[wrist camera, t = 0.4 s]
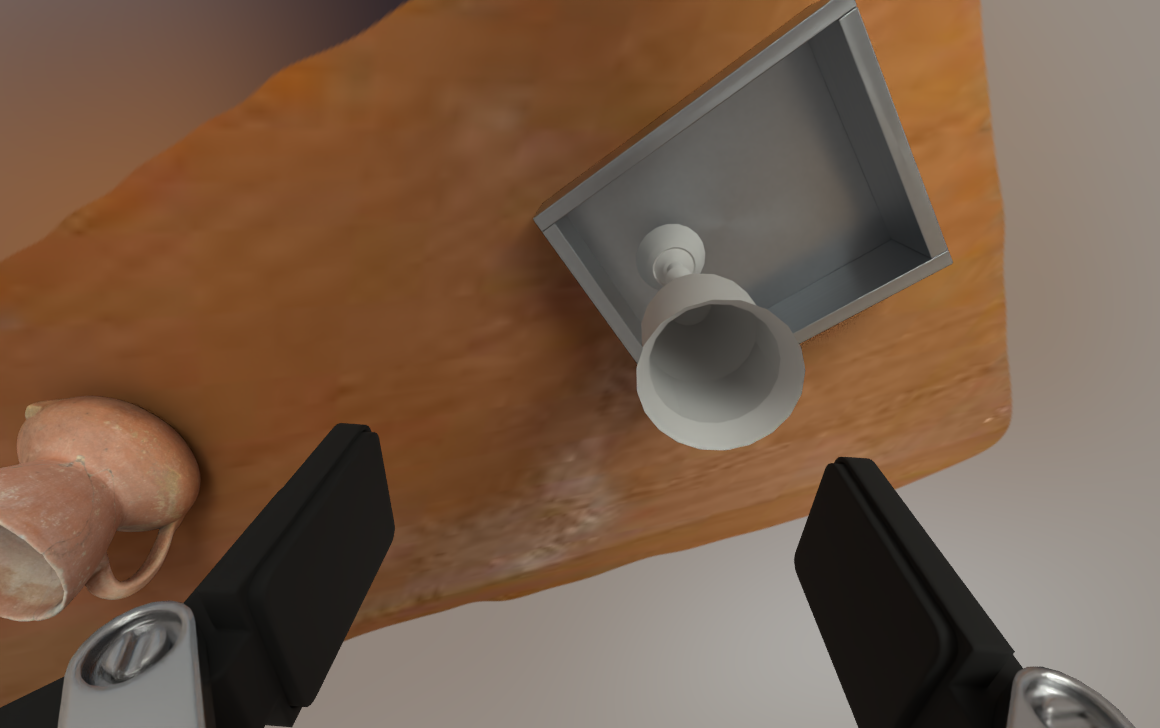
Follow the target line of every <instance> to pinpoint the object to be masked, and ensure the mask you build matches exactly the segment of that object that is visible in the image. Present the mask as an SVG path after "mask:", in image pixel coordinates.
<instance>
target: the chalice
mask: <svg viewBox="0 0 1160 728" xmlns="http://www.w3.org/2000/svg"><path fill="white" fill-rule="evenodd" d="M704 263H705V250H704V245H703V242H702V241H701V239H700V238H699V236H698V235H697V233H695V232H694V231H693V230H691V229H690V228H689V227H686V226H683V225H680V224H666V225H663V226H660V227H657V228H655V229H654V230H652V231H651V232H649V233H648V234H647V235H646V236H645V237H644V239H643V240H642V242H641V243H640V245H639V248H638V251H637V254H636V265H637V269H638V272H639V275H640V276H641V277H642V279H643V280H644V281H645V283H647V284H648V285H650V286H651V287H652V288H654V289H657V290H659V291H658V292H657V294H656V295H655V296H654V298H653V299H652V300H651V302H650V303H649V304H648V306H647V308H646V311H645V314H644V317H643V320H642V323H641V326H642V346H643V350H642V353H641V356H640V359H639V362H638V365H637V368H636V370H637V393H638V395H639V398H640V401H641V403H642V406H643V409H644V411H645V413H646V414H647V415H648V417H649V418H650V419H651V420H652V422H653V423H654V424H655V425H656V427H657V428H658V429H659V430H660V431H662V432H663V433H665V434H666V435H668V436H669V437H671V438H672V439H674V440H675V441H677V442H679V443H682V444H685V445H688V446H692V447H695V448H698V449H705V450H729V449H733V448H737V447H742V446H746V445H750V444H752V443H754V442H756V441H758V440H759V439H761V438H763V437H765V436H767V435H769V434H771V433H772V432H773V431H774V430H775V429H776V428H777V427H778V426H780V425H781V424H782V423H783V422H784V421H785V420H786V419H787V418H788V417H789V416H790V414H791V413H792V411H793V409H794V407H795V405H796V403H797V401H798V399H799V398H800V396H801V394H802V388H803V382H804V375H805V366H804V361H803V356H802V350H801V346H800V345H799V343H798V341H797V340H796V338H795V336H794V335H793V333H792V332H791V330H790V328H789V327H788V325H786V324H785V323H784V322H783V321H781V320H780V319H779V318H778V317H776V316H775V315H774V314H773V313H771V312H770V311H769V310H767V309H765V308H762V307H759V306H756V304H755V303H754V301H753V300H752V299H751V297H750V296H749V295H748V293H747V292H746V291H745V290H743V289H742V288H741V287H740V286H738V285H737V284H736V283H735V282H733V281H732V280H729V279H726V278H723V277H721V276H718V275H715V274H700V273H701V271H702V268H703V266H704Z"/></svg>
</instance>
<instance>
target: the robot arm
mask: <svg viewBox="0 0 1160 728" xmlns="http://www.w3.org/2000/svg"><path fill="white" fill-rule="evenodd" d="M394 531H395V525H394V519H393V513H392V508H391V502H390V496H389V491H388V485H387V480H386V474H385V469H384V463H383V458H382V452H381V446H380V441H379V437H378V434H377V433H375V432H371V429H370V428H369V426H367V425H360V424H346V423H339V424H337V425H336V426H335V427H334V428H333V429H332V430H331V431H330V432H329V433H328V435H327V436H326V437H325V438H324V439H323V441H322V442H321V443H320V444H319V445H318V447H317V448H316V449H315V450H314V451H313V452H312V454H311V455H310V456H309V457H308V458H307V460H306V461H305V462H304V463H303V464H302V465H301V467H300V468H299V469H298V470H297V471H296V473H295V474H294V475H293V476H292V477H291V479H290V480H289V481H288V482H287V483H286V484H285V486H284V487H283V488H282V489H281V490H279V491H278V492H277V494H276V495H275V496H274V497H273V498H272V499H271V501H270V502H269V503H268V504H267V505H266V507H265V508H264V509H263V510H262V511H261V512H260V514H259V515H258V516H257V517H256V518H255V520H254V521H253V522H252V523H251V524H250V525H249V527H248V528H247V529H246V530H245V531H244V532H243V534H242V535H241V536H240V537H239V538H238V540H237V541H236V542H235V543H234V544H233V545H232V547H231V548H230V549H229V550H228V551H227V553H226V554H225V555H224V556H223V557H222V558H221V560H220V561H219V562H218V563H217V564H216V566H215V567H214V568H213V569H212V570H211V571H210V573H209V574H208V575H207V576H206V577H205V579H204V580H203V581H202V582H201V583H200V584H199V586H198V587H197V588H196V589H195V590H194V591H193V593H192V594H191V595H190V596H189V597H188V599H187V600H186V601H185V602H184V603H181V602H175V601H160V602H152V603H149V604H146V605H143V606H140V607H137V608H134V609H132V610H130V611H128V612H126V613H124V614H122V615H120V616H118V617H116V618H114V619H113V620H111V621H110V622H108V623H107V624H105V625H104V626H102V627H101V628H99V629H98V630H97V631H96V632H94V633H93V634H92V635H91V636H90V637H89V638H88V639H87V640H86V641H85V642H84V643H83V644H82V645H81V646H80V647H79V649H78V650H77V652H76V653H75V654H74V656H73V657H72V658H71V660H70V662H69V665H68V667H67V670H66V673H65V676H64V677H62V678H60V679H58V680H56V681H54V682H52V683H50V684H48V685H46V686H44V687H42V688H40V689H38V690H36V691H34V692H32V693H30V694H28V695H25V696H23V697H21V698H19V699H17V700H15V701H13V702H11V703H9V704H7V705H5V706H3V707H1V708H0V728H264V727H265V725H271V726H283V727H292V726H293V724H294V722H295V720H296V718H297V716H298V714H299V712H300V710H301V708H302V707H308V706H309V705H311V703H312V702H313V701H314V699H315V698H316V696H317V694H318V692H319V690H320V688H321V686H322V684H323V682H324V680H325V678H326V675H327V673H328V671H329V669H330V667H331V665H332V663H333V661H334V659H335V657H336V655H337V653H338V651H339V649H340V647H341V645H342V643H343V641H344V639H345V637H346V635H347V633H348V631H349V629H350V627H351V625H352V623H353V621H354V618H355V616H356V614H357V612H358V610H359V608H360V606H361V604H362V602H363V600H364V598H365V596H366V594H367V592H368V590H369V588H370V586H371V584H372V582H373V580H374V578H375V576H376V574H377V572H378V570H379V568H380V566H381V563H382V561H383V559H384V557H385V555H386V553H387V551H388V549H389V547H390V545H391V543H392V540H393V537H394ZM794 563H795V570H796V573H797V575H798V578H799V581H800V583H801V585H802V588H803V590H804V593H805V595H806V598H807V601H808V603H809V606H810V608H811V610H812V613H813V615H814V618H815V620H816V623H817V625H818V628H819V630H820V633H821V635H822V638H823V640H824V643H825V645H826V648H827V650H828V652H829V655H830V658H831V660H832V663H833V665H834V667H835V670H836V673H837V675H838V678H839V680H840V682H841V685H842V688H843V690H844V693H845V695H846V698H847V700H848V703H849V705H850V708H851V710H852V712H853V715H854V718H855V720H856V723H857V725H858V728H1135V727H1134V726H1133V725H1132V723H1131V722H1130V721H1129V720H1128V719H1127V718H1126V717H1125V716H1124V715H1123V714H1122V713H1121V711H1120V710H1119V709H1117V708H1116V707H1115V706H1114V705H1113V704H1112V703H1110V702H1109V701H1108V700H1107V699H1105V698H1104V697H1103V696H1102V695H1101V694H1099V693H1098V692H1096V691H1095V690H1093V689H1092V688H1090V687H1089V686H1087V685H1085V684H1084V683H1082V682H1081V681H1079V680H1077V679H1075V678H1073V677H1070V676H1068V675H1066V674H1064V673H1062V672H1060V671H1056V670H1052V669H1049V668H1045V667H1026V668H1024V669H1023V668H1022V666H1021V665H1020V664H1019V662H1018V661H1017V660H1016V658H1015V657H1014V656H1013V653H1014V652H1015V651H1014V650H1013V649H1012V648H1011V646H1010V645H1009V644H1008V642H1007V641H1006V639H1005V638H1004V637H1003V635H1002V634H1001V633H1000V631H999V630H998V629H997V627H996V626H995V625H994V623H993V622H992V620H991V619H990V618H989V616H988V615H987V614H986V612H985V611H984V610H983V608H982V607H981V606H980V604H979V603H978V602H977V600H976V599H975V598H974V596H973V595H972V594H971V592H970V591H969V589H968V588H967V587H966V585H965V584H964V583H963V581H962V580H961V579H960V577H959V576H958V575H957V573H956V572H955V571H954V569H953V568H952V566H951V565H950V564H949V562H948V561H947V560H946V558H945V557H944V556H943V554H942V553H941V552H940V550H939V549H938V548H937V546H936V545H935V544H934V542H933V541H932V539H931V538H930V537H929V535H928V534H927V533H926V532H925V530H924V529H923V527H922V526H921V525H920V523H919V522H918V521H917V519H916V518H915V517H914V515H913V514H912V513H911V511H910V510H909V508H908V507H907V506H906V504H905V503H904V502H903V500H902V499H901V498H900V496H899V495H898V494H897V492H896V491H895V490H894V488H893V487H892V486H891V484H890V483H889V481H888V480H887V479H886V477H885V476H884V475H883V473H882V472H881V471H880V469H879V468H878V467H877V465H876V464H875V463H874V462H873V461H872V460H870V459H867V458H852V457H839V458H837V459H836V460H835V462H834V463H830V464H828V465H827V467H826V469H825V471H824V474H823V477H822V480H821V483H820V485H819V488H818V491H817V494H816V497H815V499H814V502H813V505H812V508H811V510H810V513H809V516H808V519H807V522H806V525H805V527H804V530H803V533H802V536H801V539H800V541H799V544H798V547H797V550H796V552H795V558H794Z"/></svg>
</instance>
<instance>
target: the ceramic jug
mask: <svg viewBox="0 0 1160 728" xmlns="http://www.w3.org/2000/svg"><path fill="white" fill-rule="evenodd" d="M25 417H26V421H25V422H24V423H23V425H22V427H21V429H20V431H19V434H18V438H17V455H18V460H19V463H20V464H18V465H14V466H9V467H4V468H0V617H3V618H8V619H11V620H15V621H33V620H37V621H40V620H45V619H48V618H51V617H53V616H55V615H57V614H58V613H60V612H61V611H62V610H63V609H64V608H65V607H66V606H67V605H68V604H69V603H70V602H71V601H72V600H73V599H74V597H75V596H76V595H77V594H78V593H79V592H80V590H81V589H82V588H83V587H84V585H85V586H86V587H87V589H88V591H89V592H90V593H92V594H93V595H95V596H97V597H100V598H103V599H110V600H115V599H121V598H125V597H128V596H130V595H132V594H134V593H136V592H138V591H139V590H141V589H142V588H143V587H144V586H145V585H146V584H147V583H149V582H150V581H151V579H152V578H153V577H154V576H155V575H156V573H157V572H158V570H159V569H160V567H161V566H162V564H163V562H164V560H165V557H166V556H167V553H168V550H169V547H170V544H171V541H172V538H173V534H174V532H175V531H176V529H177V528H178V527H179V525H180V524H181V522H182V520H183V519H184V516H185V514H186V513H187V512H188V511H189V510H190V508H191V507H192V505H193V504H194V502H195V500H196V498H197V496H198V493H199V490H200V471H199V467H198V464H197V461H196V459H195V456H194V454H193V453H192V451H191V449H190V448H189V446H188V445H187V443H186V442H185V441H184V439H183V438H182V437H181V436H180V435H179V434H178V433H177V432H176V431H175V430H174V429H173V428H172V427H171V426H169V425H168V424H167V423H166V422H164V421H163V420H161V419H160V418H158V417H157V416H155V415H153V414H152V413H150V412H148V411H146V410H144V409H142V408H140V407H138V406H136V405H134V404H131V403H128V402H125V401H122V400H118V399H114V398H108V397H100V396H80V397H72V398H67V399H57V400H51V401H42V402H37V403H34V404H31V405H29V406H28V407H27V409H26V411H25ZM154 529H159V532H158V536H157V538H156V541H155V543H154V545H153V547H152V549H151V550H150V553H149V555H148V557H147V559H146V561H145V562H144V563H143V565H142V566H141V568H140V569H139V570H138V571H137V572H136V573H135V574H134V575H133V576H132V577H131V578H129V579H127V580H126V581H122V582H120V581H118V580H117V579H116V578H115V577H114V575H113V573H112V570H111V568H110V562H109V558H108V554H107V549H108V547H109V545H110V543H111V541H112V539H113V537H114V535H115V533H116V531H124V532H140V531H149V530H154Z"/></svg>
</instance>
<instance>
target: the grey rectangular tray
mask: <svg viewBox="0 0 1160 728" xmlns="http://www.w3.org/2000/svg"><path fill="white" fill-rule="evenodd" d="M533 220H534V222H535V223H536V224H537V226H538V227H539V229H540V230H541V231H543V234H544V236H545V237H546V238H547V240H548V241H549V242H550V244H551V245H552V247H553V248H554V249H555V251H556V252H557V254H558V255H559V256H560V258H561V259H562V260H563V262H564V263H565V265H566V266H567V267H568V269H569V270H570V272H571V273H572V274H573V276H574V277H575V278H576V280H577V281H578V283H579V284H580V285H581V287H582V288H583V290H584V291H585V292H586V294H587V295H588V296H589V298H590V299H591V301H592V302H593V303H594V305H595V306H596V308H597V309H598V310H599V312H600V313H601V314H602V316H603V317H604V319H605V320H606V321H607V323H608V324H609V326H610V327H611V328H612V330H613V331H614V332H615V334H616V335H617V337H618V338H619V339H620V341H621V342H622V344H623V345H624V346H625V348H626V349H627V350H628V352H629V353H630V355H631V356H632V357H633V359H634V360H635V361H636V363H637V364H638V362H639V359H640V356H641V353H642V350H643V346H642V326H641V323H642V320H643V317H644V314H645V311H646V308H647V306H648V304H649V303H650V302H651V300H652V299H653V298H654V296H655V295H656V294H657V292H658V291H659V290H657V289H654V288H652V287H651V286H650V285H648V284H647V283H645V281H644V280H643V279H642V277H641V276H640V275H639V272H638V269H637V265H636V254H637V251H638V248H639V245H640V243H641V242H642V240H643V239H644V237H645V236H646V235H647V234H648V233H649V232H651V231H652V230H654V229H655V228H657V227H660V226H663V225H666V224H680V225H683V226H686V227H689V228H690V229H691V230H693V231H694V232H695V233H697V235H698V236H699V238H700V239H701V241H702V242H703V245H704V250H705V263H704V266H703V268H702V271H701V273H700V274H715V275H718V276H721V277H723V278H726V279H729V280H732V281H733V282H735V283H736V284H737V285H738V286H740V287H741V288H742V289H743V290H745V291H746V292H747V293H748V295H749V296H750V297H751V299H752V300H753V301H754V303H755V304H756V306H759V307H762V308H765V309H767V310H769V311H770V312H771V313H773V314H774V315H775V316H776V317H778V318H779V319H780V320H781V321H783V322H784V323H785V324H786V325H788V327H789V328H790V330H791V332H792V333H793V335H794V336H795V338H796V340H797V341H798V343H799V344H800V343H802V342H804V341H806V340H808V339H810V338H812V337H813V336H815V335H817V334H819V333H821V332H823V331H825V330H827V329H829V328H831V327H833V326H834V325H836V324H838V323H840V322H842V321H844V320H846V319H848V318H850V317H852V316H853V315H855V314H857V313H859V312H861V311H863V310H865V309H867V308H869V307H871V306H873V305H874V304H876V303H878V302H880V301H882V300H884V299H886V298H888V297H890V296H892V295H893V294H895V293H897V292H899V291H901V290H903V289H905V288H907V287H909V286H911V285H913V284H914V283H916V282H918V281H920V280H922V279H924V278H926V277H928V276H930V275H932V274H933V273H935V272H937V271H939V270H941V269H943V268H945V267H947V266H949V265H951V264H952V263H953V262H952V259H951V256H950V253H949V251H948V248H947V246H946V243H945V240H944V238H943V235H942V232H941V230H940V227H939V224H938V221H937V219H936V216H935V213H934V211H933V208H932V205H931V203H930V200H929V197H928V195H927V192H926V189H925V187H924V184H923V181H922V179H921V176H920V173H919V171H918V168H917V165H916V163H915V160H914V157H913V155H912V152H911V149H910V146H909V144H908V141H907V138H906V136H905V133H904V130H903V128H902V125H901V122H900V120H899V117H898V114H897V112H896V109H895V106H894V104H893V101H892V98H891V96H890V93H889V90H888V88H887V85H886V82H885V80H884V77H883V74H882V71H881V69H880V66H879V63H878V61H877V58H876V55H875V53H874V50H873V47H872V45H871V42H870V39H869V37H868V34H867V31H866V29H865V26H864V23H863V21H862V18H861V15H860V13H859V10H858V7H856V2H855V0H820V1H818V2H816V3H814V4H811V5H810V6H808V7H807V8H806V9H804V10H803V11H802V12H800V13H799V14H798V15H796V16H795V17H794V18H792V19H791V20H790V21H788V22H787V23H785V24H784V25H783V26H781V27H780V28H779V29H777V30H776V31H775V32H773V33H772V34H771V35H769V36H768V37H767V38H765V39H764V40H762V41H761V42H760V43H758V44H757V45H756V46H754V47H753V48H752V49H750V50H749V51H748V52H746V53H745V54H744V55H742V56H741V57H740V58H738V59H737V60H735V61H734V62H733V63H731V64H730V65H729V66H727V67H726V68H725V69H723V70H722V71H721V72H719V73H718V74H717V75H715V76H714V77H712V78H711V79H710V80H708V81H707V82H706V83H704V84H703V85H702V86H700V87H699V88H698V89H696V90H695V91H694V92H692V93H691V94H690V95H688V96H687V97H685V98H684V99H683V100H681V101H680V102H679V103H677V104H676V105H675V106H673V107H672V108H671V109H669V110H668V111H667V112H665V113H664V114H662V115H661V116H660V117H658V118H657V119H656V120H654V121H653V122H652V123H650V124H649V125H648V126H646V127H645V128H644V129H642V130H641V131H639V132H638V133H637V134H635V135H634V136H633V137H631V138H630V139H629V140H627V141H626V142H625V143H623V144H622V145H621V146H619V147H618V148H617V149H615V150H614V151H612V152H611V153H610V154H608V155H607V156H606V157H604V158H603V159H602V160H600V161H599V162H598V163H596V164H595V165H594V166H592V167H591V168H589V169H588V170H587V171H585V172H584V173H583V174H581V175H580V176H579V177H577V178H576V179H575V180H573V181H572V182H571V183H569V184H568V185H566V186H565V187H564V188H562V189H561V190H560V191H558V192H557V193H556V194H554V195H553V196H552V197H550V198H549V199H548V200H546V201H545V202H544V203H542V205H541V207H540V208H539V210H538V212H537V213H536V215H535V216H534V218H533Z"/></svg>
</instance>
